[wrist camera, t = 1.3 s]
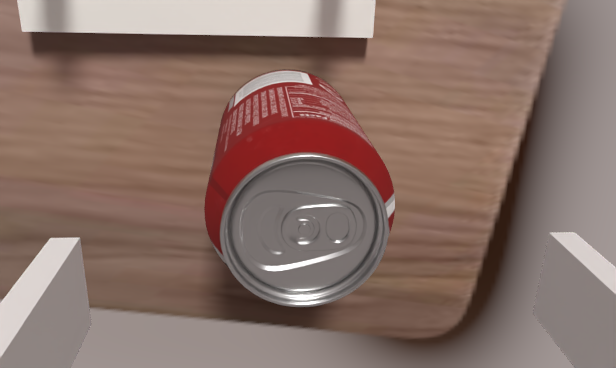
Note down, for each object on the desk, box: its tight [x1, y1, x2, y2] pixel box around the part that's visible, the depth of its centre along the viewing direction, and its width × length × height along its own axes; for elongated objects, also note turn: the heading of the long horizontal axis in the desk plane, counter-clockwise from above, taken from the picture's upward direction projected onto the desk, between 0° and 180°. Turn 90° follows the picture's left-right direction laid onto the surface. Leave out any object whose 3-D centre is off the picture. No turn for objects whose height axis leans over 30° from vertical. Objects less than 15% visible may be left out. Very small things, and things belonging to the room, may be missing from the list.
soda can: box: [205, 69, 395, 307], centre depth 24 cm, size 7×7×12 cm
